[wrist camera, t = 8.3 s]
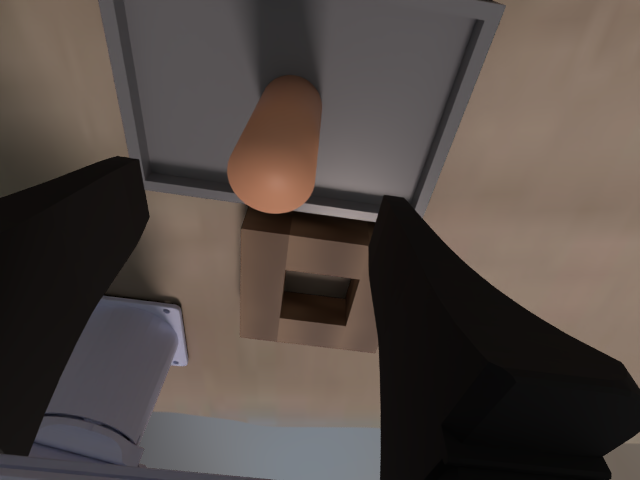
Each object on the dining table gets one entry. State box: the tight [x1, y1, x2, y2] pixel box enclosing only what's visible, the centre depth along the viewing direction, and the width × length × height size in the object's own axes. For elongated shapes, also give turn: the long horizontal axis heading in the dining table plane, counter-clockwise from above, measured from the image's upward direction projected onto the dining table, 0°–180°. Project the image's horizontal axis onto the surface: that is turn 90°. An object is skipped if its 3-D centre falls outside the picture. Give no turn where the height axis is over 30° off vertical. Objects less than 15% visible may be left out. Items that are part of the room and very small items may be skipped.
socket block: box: [240, 206, 378, 353], centre depth 25 cm, size 10×10×2 cm
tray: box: [98, 0, 506, 222], centre depth 18 cm, size 16×11×2 cm
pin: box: [227, 75, 322, 214], centre depth 15 cm, size 3×3×7 cm
